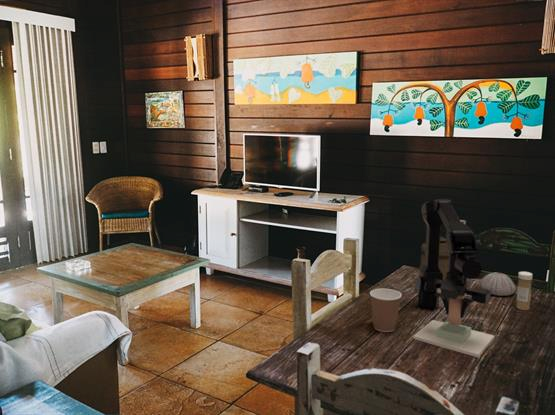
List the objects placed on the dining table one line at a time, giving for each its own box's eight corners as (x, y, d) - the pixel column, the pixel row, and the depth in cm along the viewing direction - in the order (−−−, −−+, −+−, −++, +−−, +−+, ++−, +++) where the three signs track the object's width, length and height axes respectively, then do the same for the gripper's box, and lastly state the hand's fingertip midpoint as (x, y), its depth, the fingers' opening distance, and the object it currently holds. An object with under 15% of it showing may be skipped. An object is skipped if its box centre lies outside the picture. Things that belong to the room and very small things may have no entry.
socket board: (413, 338, 155) (413, 328, 154) (432, 322, 167) (433, 312, 166) (478, 357, 142) (479, 346, 142) (494, 338, 154) (494, 328, 154)
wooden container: (448, 282, 207) (451, 232, 203) (463, 295, 193) (467, 241, 189) (414, 283, 207) (416, 233, 203) (426, 296, 192) (429, 241, 188)
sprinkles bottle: (532, 308, 179) (535, 273, 176) (525, 311, 176) (528, 275, 174) (520, 304, 182) (523, 270, 180) (513, 307, 180) (516, 272, 177)
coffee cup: (403, 324, 165) (404, 290, 163) (396, 336, 156) (398, 301, 154) (372, 319, 170) (374, 286, 167) (365, 331, 160) (366, 296, 158)
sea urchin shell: (472, 288, 200) (473, 269, 199) (500, 285, 204) (501, 267, 202) (493, 299, 188) (495, 279, 186) (523, 296, 191) (525, 277, 190)
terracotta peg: (446, 322, 153) (447, 298, 152) (450, 318, 156) (452, 294, 155) (458, 326, 151) (460, 301, 149) (463, 321, 154) (464, 297, 152)
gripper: (418, 269, 150) (416, 316, 153) (481, 281, 138) (477, 332, 141) (432, 260, 159) (430, 306, 161) (492, 271, 147) (489, 320, 150)
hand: (455, 316), depth 153 cm, fingers closed on terracotta peg, 4 cm apart
